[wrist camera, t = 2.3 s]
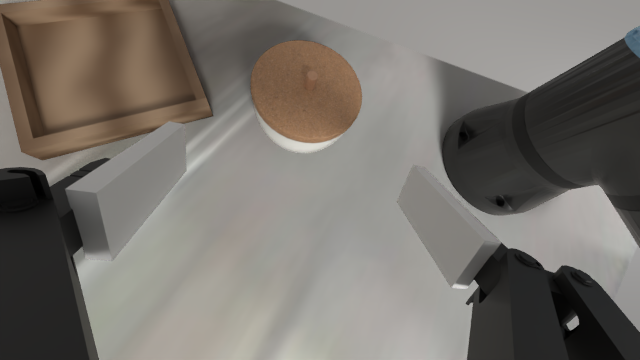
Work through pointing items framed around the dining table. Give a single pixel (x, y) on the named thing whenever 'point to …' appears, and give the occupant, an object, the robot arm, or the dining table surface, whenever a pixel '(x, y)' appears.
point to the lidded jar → (304, 95)
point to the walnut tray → (95, 72)
